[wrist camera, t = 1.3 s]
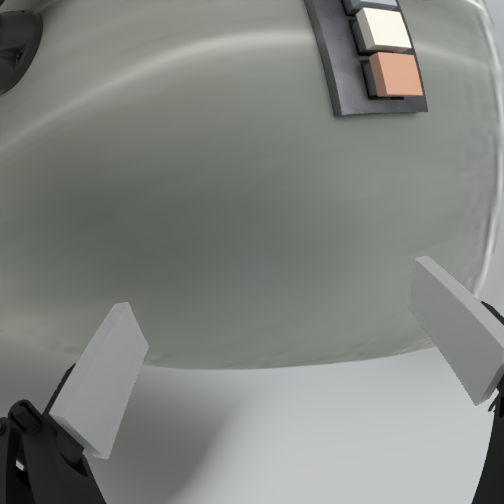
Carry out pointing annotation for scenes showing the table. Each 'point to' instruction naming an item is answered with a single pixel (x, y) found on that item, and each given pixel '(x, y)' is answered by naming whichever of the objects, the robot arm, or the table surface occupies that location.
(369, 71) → the tan cube
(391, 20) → the cream key
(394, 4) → the grey key
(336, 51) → the keypad base
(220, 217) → the table surface
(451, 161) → the table surface
